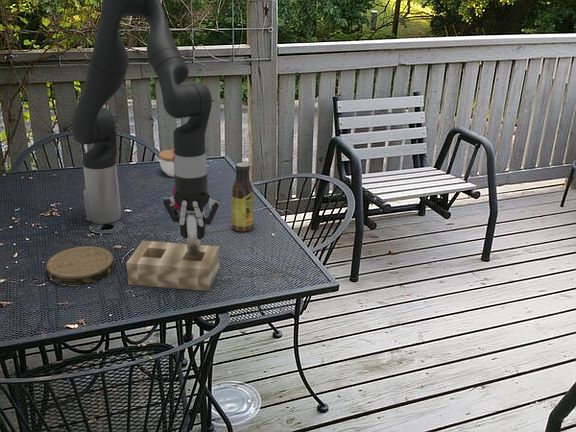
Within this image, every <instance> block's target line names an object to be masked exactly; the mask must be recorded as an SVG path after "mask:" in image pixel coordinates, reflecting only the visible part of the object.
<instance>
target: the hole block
mask: <svg viewBox="0 0 576 432" xmlns="http://www.w3.org/2000/svg"><path fill="white" fill-rule="evenodd" d="M219 268H220V246H218V245H208V244H207V245H206V244H205V245H204V244H200V254H199V255H195V256H191V255H188V254H187V243H179V242H177V243H176V242H168V241H167V242H164V241H154V240H153V241H152V240H142V241H141V242H140V243H139V245H138V247H137V248H136V249H135V250H134V252H133V253H132V254H131V256H130V258H128V260H127V261H126V274H127V281H128V282H127V284H128V285H130V286H131V285H132V286H141V287H154V288H166V289H177V290H179V289H180V290H188V291H189V290H190V291H191V290H192V291H205V292H210V290H211V287H212V285H213V283H214V280H215V278H216V276H217V273H218V271H219Z"/></svg>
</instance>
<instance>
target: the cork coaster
mask: <svg viewBox="0 0 576 432" xmlns="http://www.w3.org/2000/svg"><path fill="white" fill-rule="evenodd" d="M114 269H115V260H114V256H113V253H112V252H110V251H109V250H108V249H105V248H103V247H99V246H91V245H90V246H77V247H76V246H75V247H70V248H68V249H64V250H62V251H59V252H58V253H56V254H54V255H52V256H51V257H50V258H49V259H48V261H47V262H46V271H47V276H49V277H50V278H51V279H52V280H53V281H55V282H57V283H60V284H66V285H84V286H87V285H86V284H90V285H93V284H96V283H98V281H99V282H101V281H103V280H104V279H103V278H105V279H106V277H107V276H108V275H109V274H110V275H111V274H112V273H113V272H114ZM110 275H109V276H110ZM109 276H108V277H109ZM49 277H48V278H49ZM108 277H107V278H108ZM102 279H103V280H102ZM100 280H101V281H100ZM95 282H96V283H95ZM92 283H93V284H92Z"/></svg>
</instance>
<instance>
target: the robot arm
mask: <svg viewBox="0 0 576 432" xmlns="http://www.w3.org/2000/svg"><path fill="white" fill-rule="evenodd" d="M165 13H166V12H165V10H164V7H163V5H162V2H161V0H102V3H101V10H100V15H99V17H100V18H99V23H98V28H97V33H96V37H95V41H94V45H93V49H92V53H91V56H90V59H89V60H90V61H89V63H88V67H87V74H86V77H85V81H84V85H83V88H82V91H81V94H80V98H79V100H78V102H77V105H76V108H75V110H74V113H73V116H72V119H71V133H72V135H73V138H74V140H75V141H76V142H77V143H79V144H80V145H92V144H94V145H93V146H92V147H91V148H90V149H89V150H88V151H86V152H85V153H84V154H83V155H82V160H81V161H82V168H83V175H84V181H85V182H84V183H85V189H84V190H83V192H82V193H83V199H84V208H85V209H84V210H85V217H86V221H87V222H88V221H89V222H91V223H94V224H98V225H105V224H112V223H114V222H117V221H119V220H120V219H122V209H121V199H120V189H119V187H120V186H119V181H118V180H119V179H118V167H117V156H118V144H117V143H118V141H117V138H118V137H117V125H116V120H115V117H114V115H113V113H112V112H111V110H109V109H108V108H106V107H104V106H105V105H106V104H107V102H108V101H109V100H110V99H111V98H112V97H113V96H114V95H115V94H116V93H117V92H118V91H119V90H120V89H121V87H122V85H123V83H124V81H125V79H126V75H127V71H128V69H129V63H130V58H129V53H128V51H127V47H126V45H125V44H124V42H123V40H122V37H121V34H120V26H121V21H122V18H124V17H139V18H140V17H143V18H144V19H145V21H146V23H147V24H148V26H149V33H148V37H147V41H146V42H147V43H146V54H147V55H146V56H147V57H148V60H149V63H150V65H151V67H152V69H153V70H154V72H155V74H156V76H157V79H158V82H159V87H160V90H161V97H162V103H163V108H164V110H165V112H166V113H167V115H169V116H170V117H172V118H174V119H183V118H188V120H187V122H185V123H184V124H182V125H180V126H178V127H176V128H175V129H174V130H173V149H174V177H173V178H174V185H175V194H174V196H173V195H172V196H169V195H168V196H166V197H165V198H164V200H163V202H162V203H163V205H164V207H165V209H166V211H167V214H168V215H169V217H170V219H171V222H173V223H178V224H179V228H180V237H182V238H183V239H186V240H187V235H186V213H185V211H186V210H195V212H196V218H197V219H198V223H199V225H198V239H199V240H200V241H202V240H203V238H205V236H206V226H207V225H211V224H212V222H213V220H214V218H215V215H216V214H217V211H218V209H219V207H220V204H221V200H220V199H216V200H215V199H213V198H211V197H210V193H209V191H208V162H207V156H206V155H207V154H206V131H207V127H208V122H209V119H210V115H211V111H212V107H213V104H212V103H213V100H212V94H211V91H210V89H209V88H208V86H206V85H205V84H204V83H202V82H201V83H200V82H195V83H187V84H186V83H185V84H182V83H183V82H185V81H186V80H187V79H188V77H189V73H190V71H189V67H188V65H187V63H186V62H185V60H184V57H183V56H182V53H181V51H180V50H179V48H178V46H177V44H176V42H175V40H174V37H173V36H172V33H171V29H170V26H169V23H168V21H167V17H166V14H165ZM175 201H176V203H177V204H178V205H179V206H180V208H181V209H180V213H179V211H178V209H177V208H176V207H175ZM208 204H209V209H211V210H210V212H209V214H208V216H206V215H205V209H204V208H205V207H206V206H207V205H208Z"/></svg>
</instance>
